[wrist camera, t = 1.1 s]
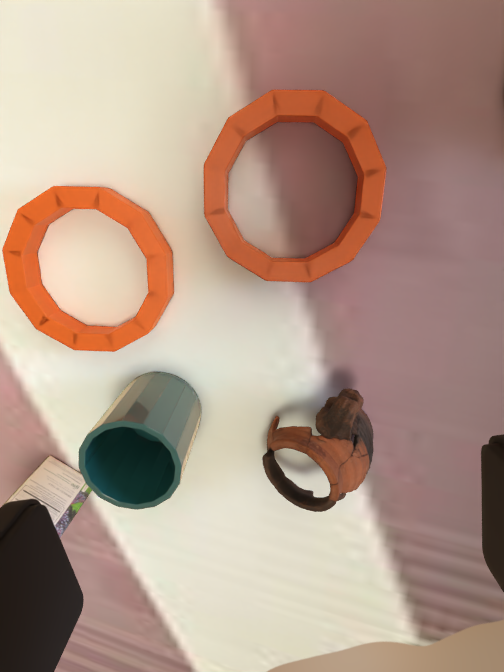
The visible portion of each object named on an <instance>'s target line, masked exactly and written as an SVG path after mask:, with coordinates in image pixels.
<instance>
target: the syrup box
mask: <svg viewBox="0 0 504 672" xmlns="http://www.w3.org/2000/svg"><path fill="white" fill-rule="evenodd" d="M91 491H92V489H91V488H90V487H89V486H88V485H87V484H86V483H85V480H84V478H83V476H82V474H80V473H79V472H77V471H75V470H74V469H72V468H70V467H69V466H67V465H65V464H64V463H62V462H60V461H59V460H57V459H55V458H54V457H52V456H48V457H47V458H46V459H45V461H44V462H43V463H42V464H41V465H40V466H39V467H38V468H37V469H36V470H35V471H34V472H33V473H32V474H31V475H30V476H29V478H28V479H27V480H26V481H25V482H24V483H23V484H22V485H21V486H20V487H19V488H18V489H17V490H16V492H15V493H14V494H13V495H12V496H11V497H10V498H9V499H8V500H7V501H6V502H5V503H8V502H11V501H19V500H26V499H37V500H38V501H39V502H40V503H41V505H45V506H46V507H47V509H48V511H49V514H50V516H51V518H52V521H53V523H54V526H55V528H56V530H57V533H58V535H59V538H60V537H61V536H62V534H63V533H64V531H65V530H66V528H67V527H68V525H69V524H70V522H71V521H72V519H73V518H74V516H75V515H76V513H77V512H78V510H79V509H80V507H81V506H82V504H83V503H84V501H85V500H86V498H87V497H88V495H89V494H90V492H91ZM5 503H4V504H5Z"/></svg>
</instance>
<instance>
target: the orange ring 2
mask: <svg viewBox="0 0 504 672" xmlns="http://www.w3.org/2000/svg"><path fill="white" fill-rule="evenodd" d="M276 122H314V123H315V124H317V125H318V126H319V127H321V128H322V129H324V130H325V131H327V132H328V133H330V134H331V135H333V136H334V137H335V138H337V139H338V140H340V141H341V142H343V144H344V146H345V148H346V151H347V153H348V155H349V158H350V160H351V162H352V165H353V167H354V169H355V171H356V174H357V176H358V180H357V189H356V199H355V209H354V214H353V216H352V217H351V219H350V220H349V222H348V223H347V225H346V226H345V228H344V229H343V231H342V232H341V234H340V235H339V237H338V238H337V240H336V241H335V243H333V244H331V245H329V246H327V247H326V248H324V249H322V250H320V251H318V252H316V253H314V254H312V255H311V256H309V257H307V258H305V259H300V258H272V257H270V256H268V255H267V254H265V253H264V252H262V251H260V250H259V249H257V248H256V247H254V246H252V245H251V244H249V243H248V242H246V241H245V240H244V239H243V237H242V235H241V233H240V232H239V230H238V228H237V226H236V224H235V222H234V220H233V218H232V217H231V215H230V213H229V211H228V173H229V171H230V169H231V167H232V166H233V164H234V162H235V160H236V158H237V156H238V155H239V153H240V151H241V149H242V147H243V145H244V143H245V142H246V141H247V140H249V139H250V138H252V137H253V136H255V135H257V134H258V133H260V132H262V131H263V130H265V129H266V128H268V127H270V126H271V125H273V124H275V123H276ZM385 177H386V166H385V163H384V161H383V159H382V156H381V154H380V151H379V149H378V146H377V144H376V142H375V139H374V137H373V134H372V132H371V130H370V127H369V125H368V122H367V120H365V119H364V118H363V117H361V116H360V115H358V114H357V113H355V112H354V111H353V110H351V109H350V108H348V107H347V106H346V105H344V104H343V103H341V102H340V101H338V100H337V99H336V98H334V97H333V96H331V95H330V94H329V93H327V92H326V91H324V90H271V91H270V92H268V93H266V94H265V95H263V96H262V97H260V98H259V99H257V100H255V101H254V102H252V103H251V104H249V105H248V106H246V107H244V108H243V109H241V110H240V111H238V112H236V113H235V114H233V115H232V116H230V117H229V118H228V119H227V121H226V123H225V125H224V127H223V129H222V131H221V133H220V134H219V136H218V138H217V140H216V142H215V144H214V146H213V148H212V150H211V152H210V154H209V156H208V158H207V159H206V161H205V163H204V214H205V218H206V219H207V221H208V223H209V225H210V227H211V228H212V230H213V232H214V234H215V236H216V237H217V239H218V241H219V243H220V245H221V246H222V248H223V250H224V252H225V254H226V255H227V257H228V258H230V259H232V260H233V261H235V262H236V263H238V264H240V265H241V266H243V267H244V268H246V269H248V270H249V271H251V272H253V273H254V274H256V275H257V276H259V277H261V278H262V279H264V280H266V281H288V282H312V281H314V280H316V279H318V278H320V277H322V276H323V275H325V274H327V273H329V272H331V271H333V270H335V269H337V268H339V267H341V266H343V265H345V264H347V263H349V262H351V261H352V260H353V259H354V257H355V256H356V254H357V253H358V251H359V250H360V249H361V247H362V246H363V244H364V243H365V241H366V240H367V238H368V237H369V236H370V234H371V233H372V231H373V230H374V228H375V227H376V225H377V224H378V223H379V221H380V218H381V210H382V202H383V193H384V185H385Z"/></svg>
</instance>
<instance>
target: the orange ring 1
mask: <svg viewBox="0 0 504 672" xmlns="http://www.w3.org/2000/svg"><path fill="white" fill-rule="evenodd" d="M74 208H77V209H97V210H99V211H100V212H102V213H103V214H105V215H107V216H108V217H110V218H112V219H113V220H115V221H117V222H118V223H120V224H122V225H123V226H125V227H127V228H128V230H129V231H130V233H131V234H132V236H133V238H134V239H135V241H136V243H137V244H138V246H139V247H140V249H141V251H142V252H143V254H144V256H145V257H146V259H147V275H148V291H149V293H148V295H147V297H146V298H145V300H144V302H143V304H142V306H141V308H140V310H139V312H138V314H137V315H136V317H134V318H133V319H131V320H129V321H127V322H125V323H124V324H122V325H120V326H118V327H105V326H87V325H85V324H83V323H82V322H80V321H78V320H76V319H75V318H73V317H71V316H69V315H67V314H66V313H64V312H62V311H60V309H59V308H58V306H57V305H56V304H55V302H54V301H53V299H52V298H51V296H50V295H49V294H48V292H47V291H46V289H45V288H44V286H43V285H42V283H41V276H40V269H39V262H38V256H37V251H38V249H39V246H40V244H41V241H42V239H43V237H44V234H45V232H46V229H47V227H48V225H49V224H50V223H52V222H53V221H55V220H56V219H58V218H59V217H61V216H63V215H64V214H66V213H67V212H69V211H70V210H72V209H74ZM2 251H3V256H4V262H5V268H6V274H7V279H8V285H9V291H10V294H11V295H12V297H13V298H14V299H15V301H16V302H17V303H18V305H19V306H20V308H21V309H22V310H23V312H24V313H25V314H26V316H27V317H28V319H29V320H30V321H31V323H32V324H33V325H34V327H35V328H36V329H37V330H39V331H41V332H43V333H44V334H46V335H48V336H50V337H52V338H53V339H55V340H57V341H59V342H61V343H62V344H64V345H66V346H68V347H70V348H72V349H73V350H87V351H112V352H114V351H117V350H119V349H120V348H122V347H124V346H126V345H128V344H130V343H132V342H133V341H135V340H137V339H139V338H141V337H143V336H145V335H146V334H148V333H149V332H150V331H151V330H152V329H153V328H154V327H155V326H156V325H157V323H158V321H159V319H160V317H161V316H162V314H163V312H164V310H165V308H166V306H167V305H168V303H169V301H170V299H171V297H172V296H173V293H174V284H173V259H172V250H171V249H170V247H169V245H168V244H167V242H166V240H165V239H164V237H163V235H162V234H161V232H160V230H159V228H158V227H157V225H156V223H155V222H154V220H153V218H152V217H151V215H150V213H149V212H148V211H146V210H144V209H143V208H141V207H139V206H138V205H136V204H135V203H133V202H131V201H130V200H128V199H126V198H125V197H123V196H122V195H120V194H118V193H117V192H115V191H113V190H112V189H109V188H102V187H74V186H53V187H51V188H50V189H48V190H47V191H45V192H44V193H42V194H41V195H39V196H38V197H36V198H35V199H33V200H32V201H30V202H29V203H27V204H25V205H24V206H22V207H21V208H19V209H18V211H17V213H16V215H15V218H14V221H13V223H12V226H11V228H10V231H9V234H8V236H7V239H6V241H5V244H4V247H3V250H2Z"/></svg>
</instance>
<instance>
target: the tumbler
mask: <svg viewBox="0 0 504 672" xmlns="http://www.w3.org/2000/svg"><path fill="white" fill-rule="evenodd" d="M200 419H201V404H200V401H199V398H198V396H197V394H196V392H195V391H194V390H193V388H192V387H191V386H190V385H189V384H188V383H187V382H185V381H184V380H182V379H181V378H179V377H177V376H175V375H172V374H169V373H163V372H152V373H147V374H144V375H141V376H139V377H137V378H136V379H134V380H133V381H132V382H131V383H130V384H129V385H127V386H126V388H125V389H124V390H123V391H122V393H121V394H120V395H119V396H118V398H117V399H116V400H115V401H114V402H113V404H112V405H111V406H110V407H109V409H108V410H107V411H106V412H105V414H104V415H103V416H102V417H101V418H100V420H99V421H98V422H97V423H96V425H95V426H94V427H93V428H92V430H91V431H90V432H89V433H88V434H87V436H86V438H85V440H84V441H83V443H82V445H81V447H80V449H79V469H80V471H81V474H82V476H83V478H84V480H85V483H86V484H87V485H88V486H89V487H90V488H91V489H92V490H93V491H94V492H95V493H96V494H97V495H98V496H99V497H100V498H102V499H104V500H106V501H108V502H110V503H112V504H113V505H115V506H118V507H124V508H130V509H143V508H149V507H155V506H157V505H159V504H160V503H162V502H164V501H165V500H167V499H169V498H170V497H171V496H172V494H173V493H174V491H175V490H176V488H177V487H178V485H179V484H180V481H181V478H182V475H183V472H184V469H185V466H186V463H187V460H188V457H189V454H190V451H191V448H192V445H193V442H194V439H195V436H196V433H197V430H198V427H199V423H200Z"/></svg>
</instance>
